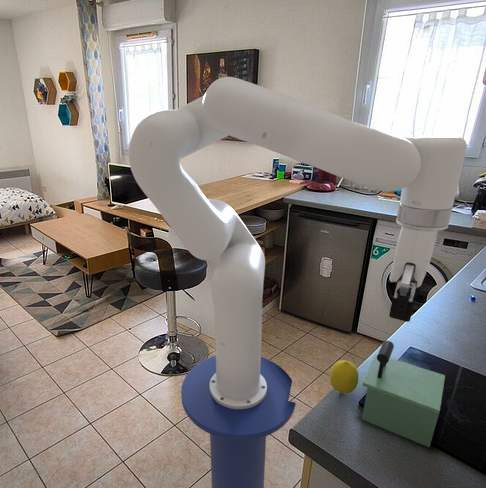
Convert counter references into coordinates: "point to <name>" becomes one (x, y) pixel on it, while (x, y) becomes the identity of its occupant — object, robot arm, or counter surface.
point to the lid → (404, 380)
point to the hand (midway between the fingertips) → (403, 306)
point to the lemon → (344, 376)
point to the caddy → (399, 417)
